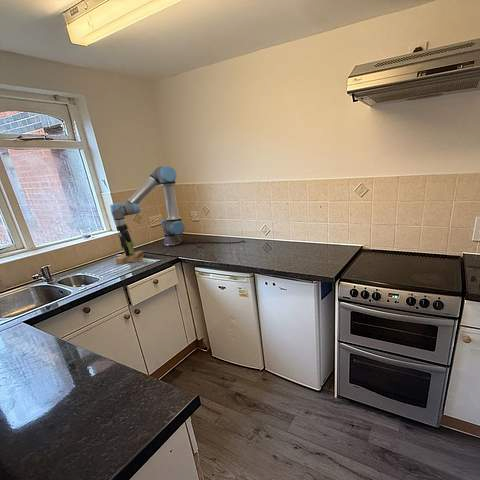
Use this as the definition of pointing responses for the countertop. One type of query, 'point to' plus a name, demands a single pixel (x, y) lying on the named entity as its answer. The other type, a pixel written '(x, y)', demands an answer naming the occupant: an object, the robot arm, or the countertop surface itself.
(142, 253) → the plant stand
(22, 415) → the countertop surface
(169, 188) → the robot arm
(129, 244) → the plant pot
